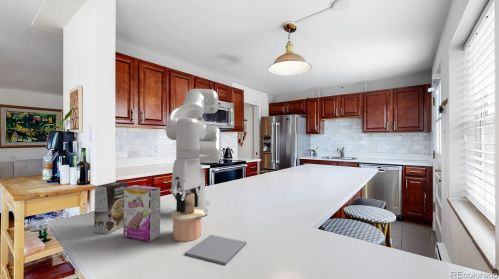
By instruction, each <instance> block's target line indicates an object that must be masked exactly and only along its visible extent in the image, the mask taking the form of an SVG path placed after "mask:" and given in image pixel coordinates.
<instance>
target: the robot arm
mask: <svg viewBox="0 0 499 279" xmlns="http://www.w3.org/2000/svg"><path fill="white" fill-rule="evenodd" d="M218 110H219V96H218V93H217V91H215V90H214V89H210V88H191V89H189V90H188V91H187V92H186V94H185V98H184V100H183V105H180V106H179V107H177V108H175V109H173V110H172V111H171V112H170V113H169V115H168V119H167V121H166V125H165V135H166V137H167V138H168V139H169V140H171V141H175V144H176V146H175V159H174V161H173V166H172V174H171V187H170V189H169V192H170V193H171V195H172V196H173V197H174V200H175V201H176V204H175V206H176V207H175V208H176V211H177V212H182V213H184V212H185V210H186V201H185V200H184V197H185V193H194V208H199V209H202V210H203V211H204V215H203V216H202V218H203V217H205V216H207V215H208V214H209V209H208V208H206V207H207V206H208V205H210V203H211V202H210V200H206V198H205V197H206V196H205V194H206V192H205V191H206V190H205V189H206V177H205V176H206V175H205V174H206V173H205V171H204V169H203V167H201V164H215V163H218V162H220V161H221V158H222V135H221V130H220V128H219V127H218V126H216V125H206V121H205V119H204V118H203V117H202V116H203V115H204V114H216V113H217V112H218Z"/></svg>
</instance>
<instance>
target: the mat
mask: <svg viewBox="0 0 499 279" xmlns="http://www.w3.org/2000/svg"><path fill="white" fill-rule="evenodd" d="M246 245H247V241H245V240H239V239H234V238H229V237H223V236H218V235H215V234H214V235H213V234H210V235H208V236H206V237H205V238H204V239H202V240H201V241H199V242H198V243H196V244H195V245H193V246H192V247H190V248H189V249H188V250H186V251H185V252H184V255H186V256H189V257H192V258H197V259H201V260H204V261H209V262H213V263H217V264H219V265H223V266H226V265H227V264H228V263H229V262H230V261H231V260H232V259H233V258H234V257H235V256H236V255H237V254H238V253H239V252H240V251H241V250H242V249H243V248H244V247H245V246H246Z"/></svg>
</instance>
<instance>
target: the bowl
mask: <svg viewBox="0 0 499 279" xmlns="http://www.w3.org/2000/svg"><path fill="white" fill-rule="evenodd" d="M202 218H203V217H201V218H198V219H195V220H190V221H177V220H173V219H172V237H173V240H174V241H177V242H183V243H185V242H187V243H188V242H192V241H194V240H198V239H199V238H200V237H201V236H202Z"/></svg>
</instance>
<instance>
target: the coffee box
mask: <svg viewBox="0 0 499 279" xmlns="http://www.w3.org/2000/svg"><path fill="white" fill-rule="evenodd" d="M125 187H129V182H127V181H126V182H125V181H113V182H108V183H104V184H98V185H95V186H94V211H93V212H94V214H93V216H94V217H93V219H94V220H93V233H95V234H96V233H97V234H106V235H107V234H112V233H113V232H115V231H118V230H120V229H122V228H124V188H125Z"/></svg>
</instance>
